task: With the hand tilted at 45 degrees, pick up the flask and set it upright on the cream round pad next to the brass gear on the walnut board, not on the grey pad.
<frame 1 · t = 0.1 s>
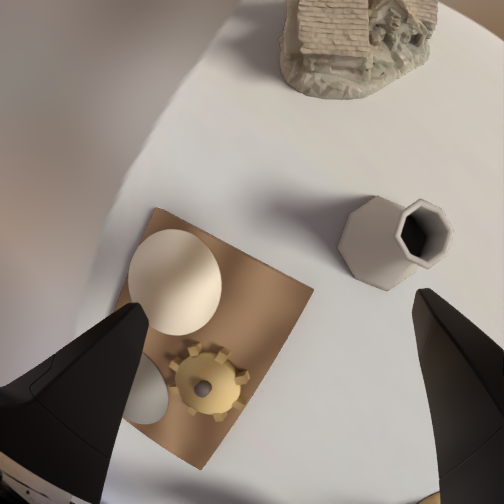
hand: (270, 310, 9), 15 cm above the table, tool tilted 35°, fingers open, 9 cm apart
gear board: (181, 353, 25), on the table
ceramic cottage: (357, 45, 22), on the table
flask: (382, 243, 22), on the table
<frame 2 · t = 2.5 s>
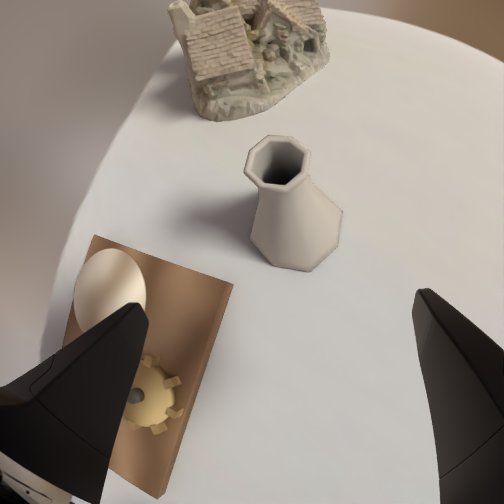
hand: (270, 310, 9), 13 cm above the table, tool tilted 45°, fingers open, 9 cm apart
gear board: (123, 370, 23), on the table
ceramic cottage: (261, 69, 28), on the table
flask: (297, 227, 23), on the table
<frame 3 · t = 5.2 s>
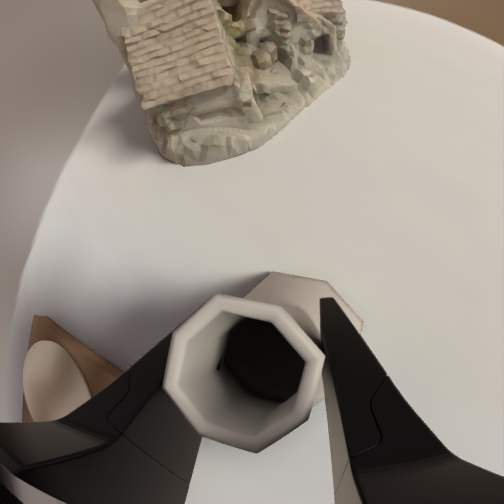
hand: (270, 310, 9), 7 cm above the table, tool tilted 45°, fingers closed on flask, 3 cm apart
gear board: (86, 470, 15), on the table
ceramic cottage: (251, 79, 20), on the table
flask: (291, 341, 15), on the table, touching gripper
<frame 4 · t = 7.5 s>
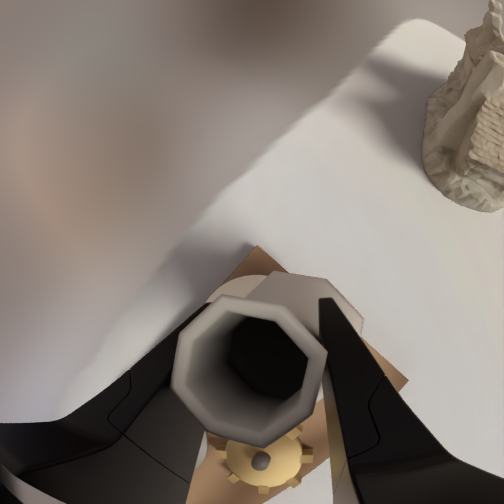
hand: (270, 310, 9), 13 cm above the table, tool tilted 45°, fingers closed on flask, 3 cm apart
gear board: (235, 413, 21), on the table
ceramic cottage: (488, 150, 20), on the table
flask: (294, 339, 15), point 6 cm above the table, touching gripper
when the fingers open (10 cm above the table, at t = 8.9 s): flask stays where it is, resting on gear board.
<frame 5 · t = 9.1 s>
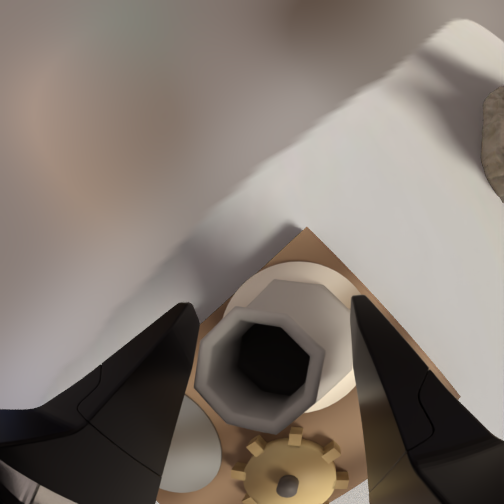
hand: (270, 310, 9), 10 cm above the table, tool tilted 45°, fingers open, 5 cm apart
gear board: (257, 426, 17), on the table
flask: (295, 342, 16), point 2 cm above the table, touching gear board
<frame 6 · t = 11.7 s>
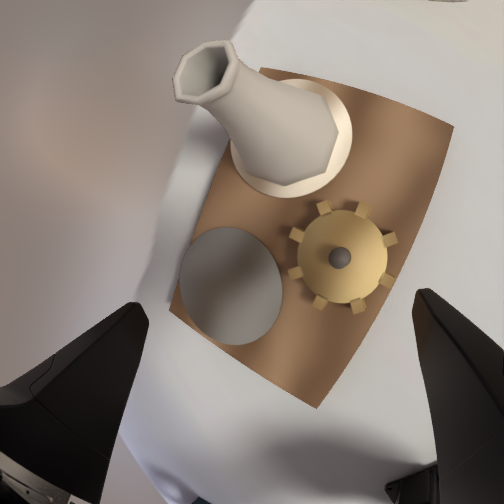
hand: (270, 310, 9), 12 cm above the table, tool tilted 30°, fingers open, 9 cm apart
gear board: (300, 231, 21), on the table
flask: (288, 136, 19), point 2 cm above the table, touching gear board
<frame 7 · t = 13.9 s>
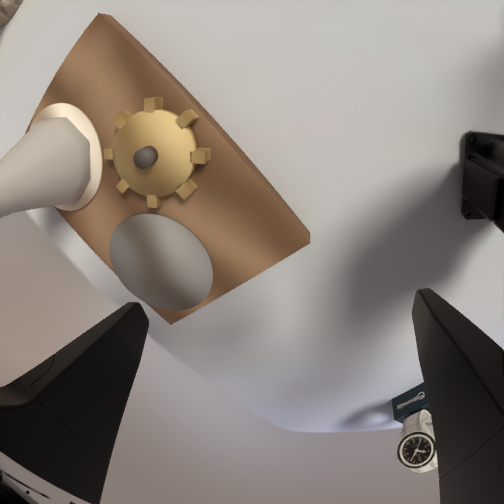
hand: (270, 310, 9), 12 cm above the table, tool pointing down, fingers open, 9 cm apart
gear board: (136, 179, 20), on the table
watch: (415, 393, 30), on the table
flask: (61, 158, 18), point 2 cm above the table, touching gear board
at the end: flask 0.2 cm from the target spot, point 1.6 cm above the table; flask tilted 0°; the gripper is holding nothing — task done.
